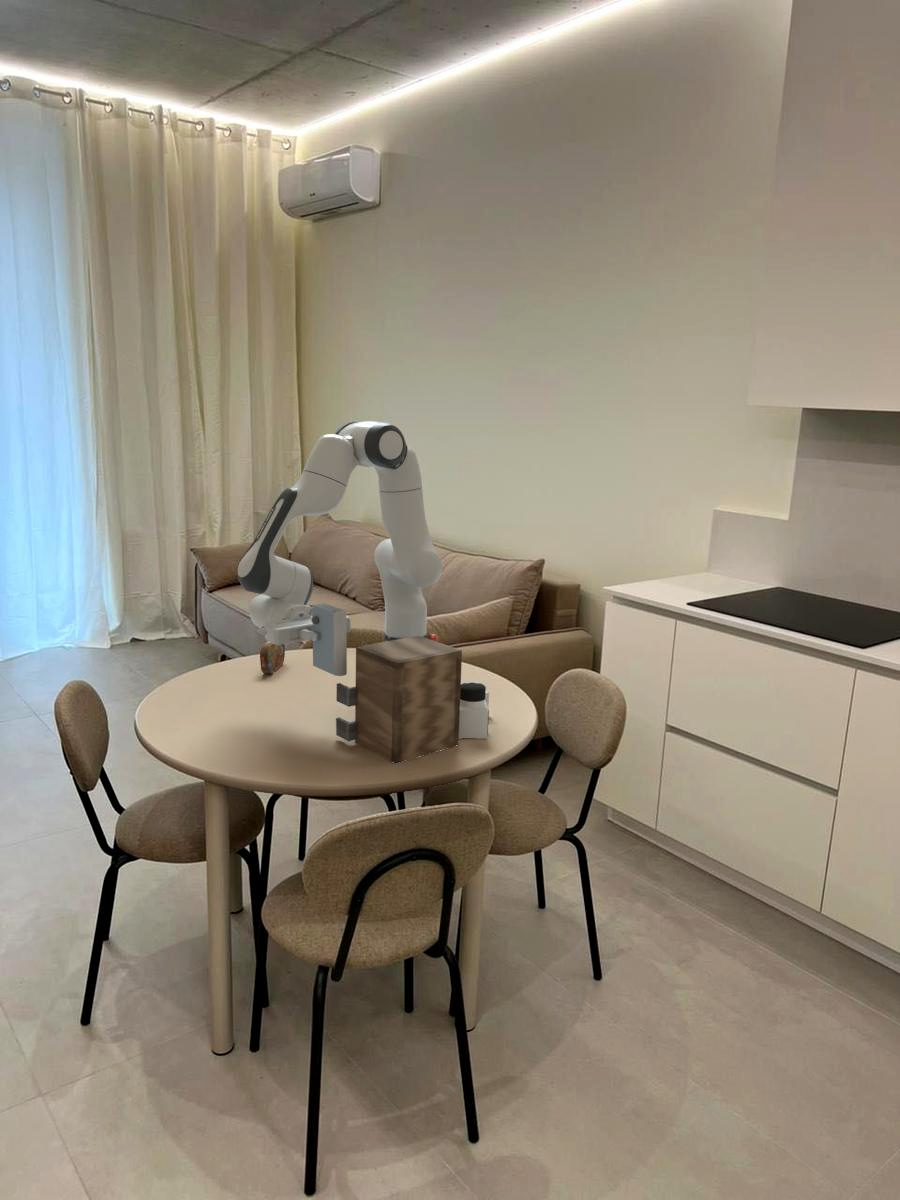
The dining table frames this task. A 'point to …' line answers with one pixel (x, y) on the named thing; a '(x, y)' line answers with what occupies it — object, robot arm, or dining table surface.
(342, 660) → the door
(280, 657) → the tin
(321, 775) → the dining table surface
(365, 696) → the cabinet
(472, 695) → the medicine bottle
